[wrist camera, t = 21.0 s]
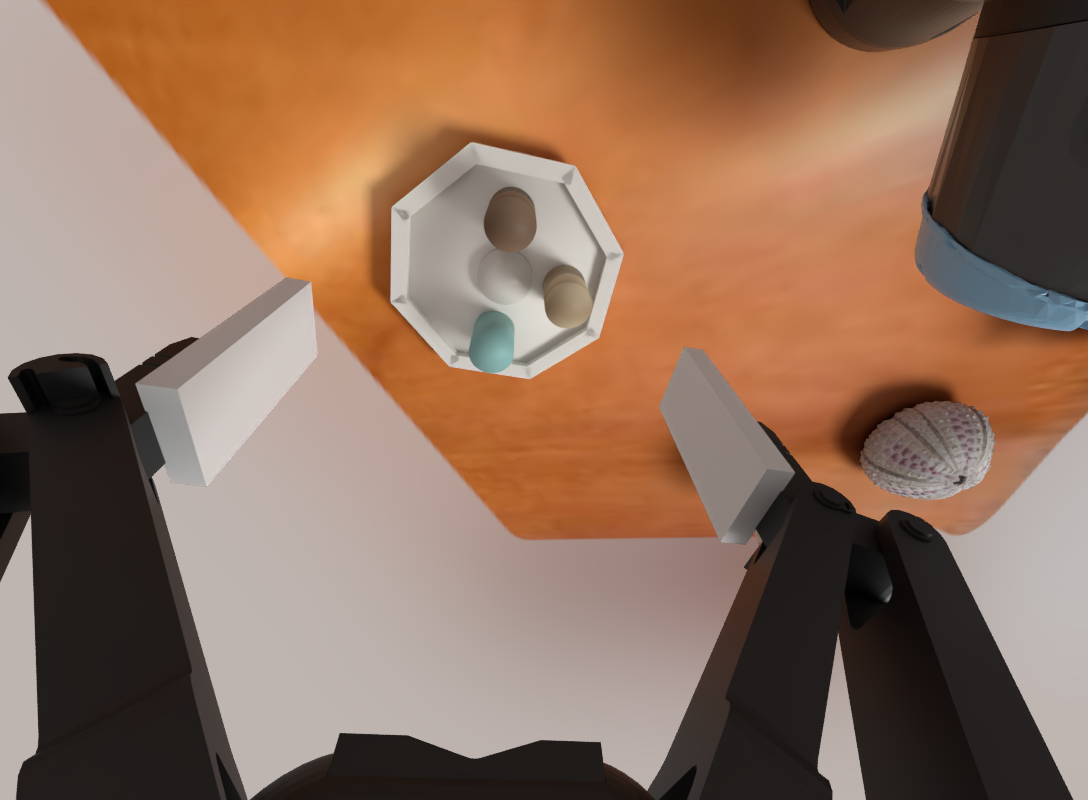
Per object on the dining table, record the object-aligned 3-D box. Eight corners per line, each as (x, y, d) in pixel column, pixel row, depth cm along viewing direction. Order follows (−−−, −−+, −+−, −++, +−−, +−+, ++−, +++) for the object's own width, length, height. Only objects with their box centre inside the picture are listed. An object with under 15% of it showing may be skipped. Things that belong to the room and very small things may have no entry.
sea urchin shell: (956, 458, 57) (1014, 505, 50) (847, 486, 59) (889, 534, 52) (976, 376, 50) (1046, 417, 43) (851, 411, 52) (900, 455, 45)
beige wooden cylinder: (547, 261, 40) (550, 279, 35) (589, 269, 40) (597, 288, 36) (538, 302, 42) (540, 324, 37) (579, 310, 42) (585, 331, 38)
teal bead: (476, 307, 42) (471, 329, 38) (517, 314, 42) (517, 337, 38) (471, 344, 44) (466, 369, 40) (511, 351, 44) (509, 376, 40)
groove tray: (398, 123, 34) (392, 124, 33) (640, 178, 37) (645, 181, 35) (394, 349, 45) (389, 357, 43) (582, 378, 48) (584, 387, 46)
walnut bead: (491, 182, 36) (486, 191, 32) (539, 191, 36) (541, 202, 32) (485, 232, 38) (480, 247, 34) (530, 240, 38) (531, 256, 34)
